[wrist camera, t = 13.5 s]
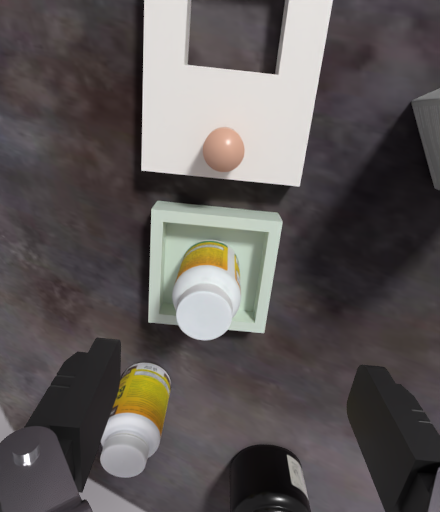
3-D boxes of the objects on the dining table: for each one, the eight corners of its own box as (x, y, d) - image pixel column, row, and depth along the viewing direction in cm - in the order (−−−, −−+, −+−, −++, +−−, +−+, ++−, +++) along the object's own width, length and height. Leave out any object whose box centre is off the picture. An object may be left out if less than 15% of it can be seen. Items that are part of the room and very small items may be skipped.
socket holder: (147, 166, 32) (132, 176, 27) (155, -196, 24) (136, -279, 19) (294, 181, 33) (306, 194, 27) (354, -172, 24) (389, -248, 19)
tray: (154, 306, 37) (148, 322, 35) (157, 200, 33) (151, 209, 31) (261, 316, 38) (264, 333, 35) (277, 212, 34) (282, 222, 31)
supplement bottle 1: (129, 353, 40) (98, 430, 30) (178, 368, 40) (163, 448, 31) (116, 391, 42) (84, 475, 32) (163, 405, 42) (145, 491, 33)
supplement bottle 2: (250, 266, 35) (258, 320, 26) (209, 299, 36) (203, 362, 27) (211, 225, 33) (205, 268, 24) (170, 262, 35) (150, 315, 26)
